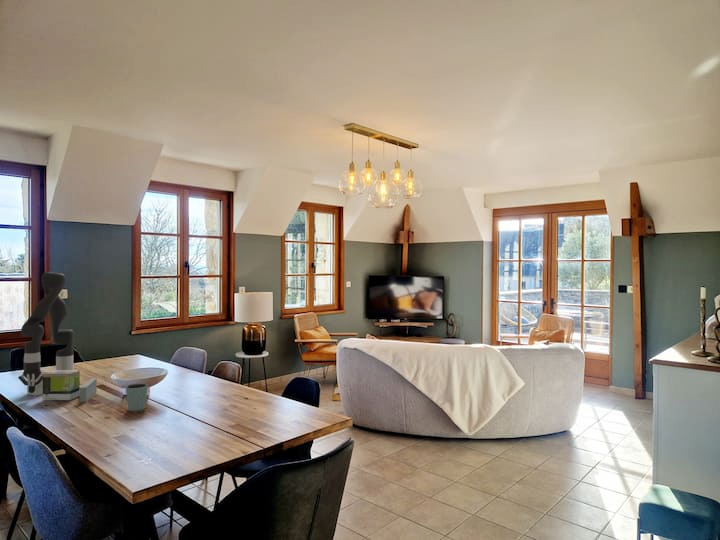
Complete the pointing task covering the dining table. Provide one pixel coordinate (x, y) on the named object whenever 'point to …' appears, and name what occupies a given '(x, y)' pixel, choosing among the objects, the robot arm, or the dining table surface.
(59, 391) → the tea box
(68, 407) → the dining table surface
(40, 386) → the supplement box
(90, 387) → the stop board
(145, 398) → the grey green open cylinder
